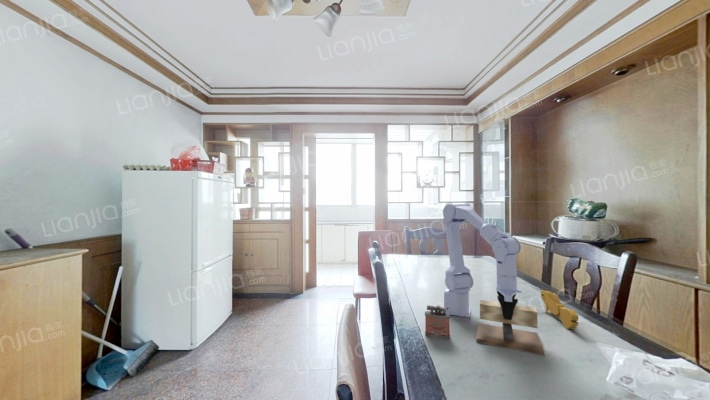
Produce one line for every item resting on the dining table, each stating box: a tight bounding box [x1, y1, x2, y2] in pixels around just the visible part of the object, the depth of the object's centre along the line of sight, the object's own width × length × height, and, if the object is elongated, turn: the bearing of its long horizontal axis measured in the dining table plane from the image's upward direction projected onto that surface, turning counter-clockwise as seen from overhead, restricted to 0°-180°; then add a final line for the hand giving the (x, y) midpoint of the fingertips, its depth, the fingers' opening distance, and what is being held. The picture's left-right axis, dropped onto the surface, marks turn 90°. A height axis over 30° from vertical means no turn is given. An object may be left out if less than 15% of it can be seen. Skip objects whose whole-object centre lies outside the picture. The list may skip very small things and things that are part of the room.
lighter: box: [424, 305, 451, 340], centre depth 92 cm, size 8×3×10 cm, turn 71°
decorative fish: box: [540, 290, 580, 330], centre depth 103 cm, size 22×3×10 cm, turn 169°
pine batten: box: [479, 299, 538, 329], centre depth 89 cm, size 16×4×5 cm, turn 64°
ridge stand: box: [476, 322, 545, 356], centre depth 89 cm, size 18×12×5 cm, turn 64°
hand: (507, 316), depth 89 cm, fingers closed on pine batten, 4 cm apart
